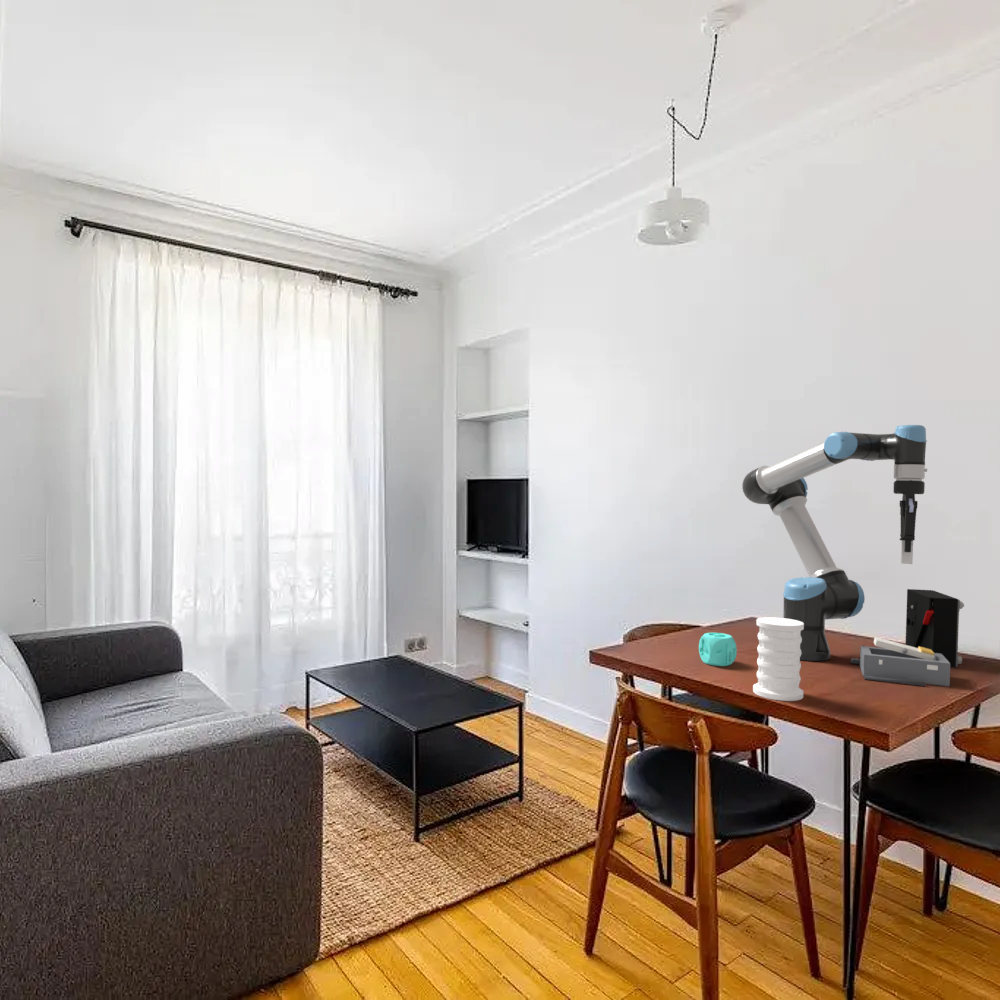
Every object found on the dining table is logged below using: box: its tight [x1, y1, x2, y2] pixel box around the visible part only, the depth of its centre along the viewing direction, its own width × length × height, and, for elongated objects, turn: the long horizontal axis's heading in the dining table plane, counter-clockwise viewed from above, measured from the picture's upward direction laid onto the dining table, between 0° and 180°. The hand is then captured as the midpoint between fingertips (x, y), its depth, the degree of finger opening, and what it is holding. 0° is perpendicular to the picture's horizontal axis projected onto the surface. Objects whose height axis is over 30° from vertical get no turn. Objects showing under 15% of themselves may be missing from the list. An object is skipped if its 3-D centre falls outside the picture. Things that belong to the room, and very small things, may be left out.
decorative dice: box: [698, 632, 738, 667], centre depth 201 cm, size 8×8×8 cm
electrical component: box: [904, 588, 965, 668], centre depth 209 cm, size 18×10×20 cm, turn 168°
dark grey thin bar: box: [863, 676, 926, 687], centre depth 183 cm, size 14×1×1 cm, turn 67°
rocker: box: [873, 636, 935, 660], centre depth 190 cm, size 14×6×2 cm, turn 67°
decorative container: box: [752, 616, 804, 702], centre depth 171 cm, size 12×12×18 cm
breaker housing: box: [859, 645, 951, 687], centre depth 190 cm, size 20×12×6 cm, turn 67°
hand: (906, 563), depth 195 cm, fingers closed
